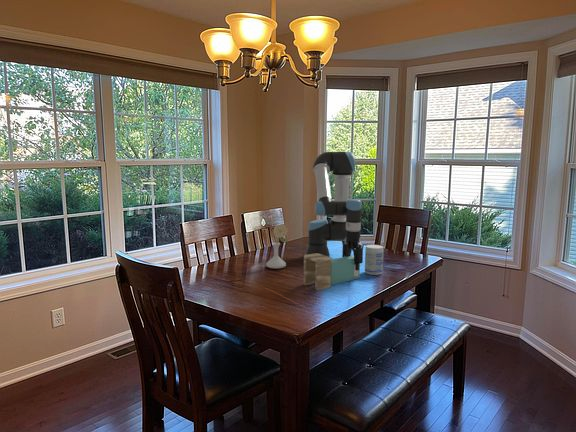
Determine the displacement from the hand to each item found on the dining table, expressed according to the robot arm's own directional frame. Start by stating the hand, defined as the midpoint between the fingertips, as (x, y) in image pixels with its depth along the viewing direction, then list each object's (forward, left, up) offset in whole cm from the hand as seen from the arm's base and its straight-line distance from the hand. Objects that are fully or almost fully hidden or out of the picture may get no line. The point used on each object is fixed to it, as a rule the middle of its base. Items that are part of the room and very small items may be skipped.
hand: (351, 274), depth 214 cm
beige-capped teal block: (0, -6, -2) cm, 7 cm away
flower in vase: (-39, -20, -2) cm, 44 cm away
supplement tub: (-1, +17, -2) cm, 17 cm away
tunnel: (0, -23, -2) cm, 23 cm away
